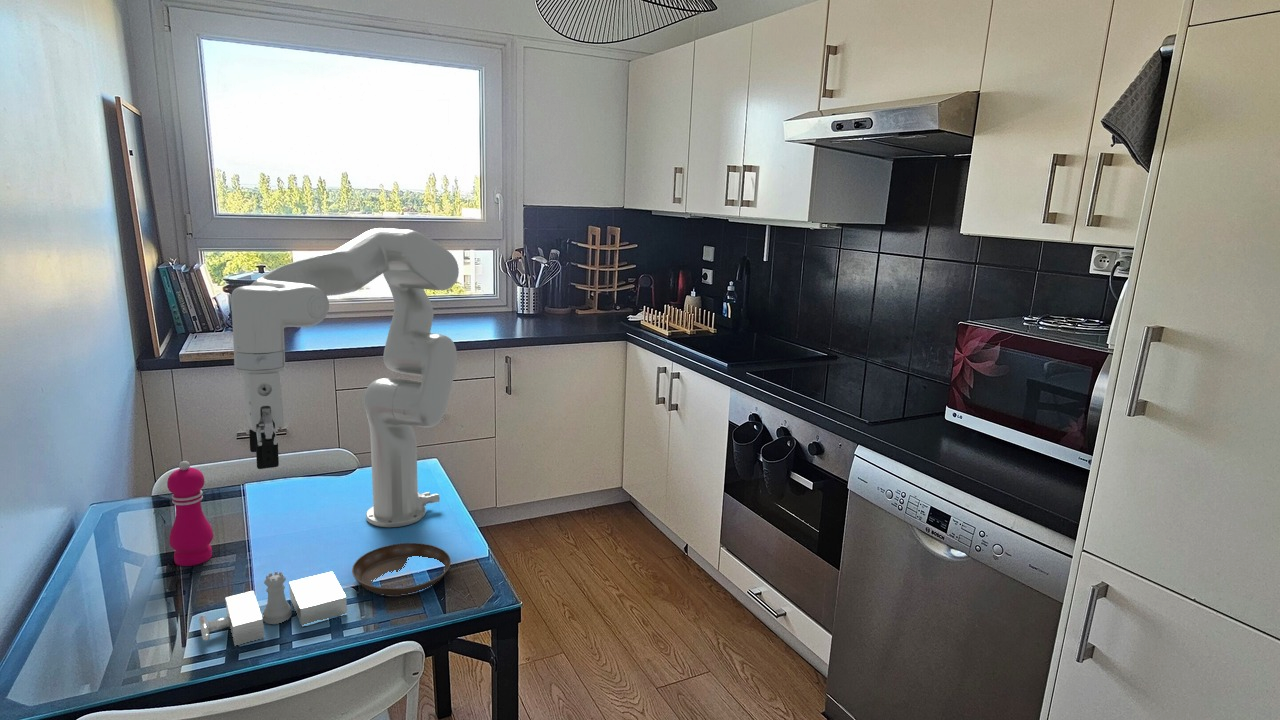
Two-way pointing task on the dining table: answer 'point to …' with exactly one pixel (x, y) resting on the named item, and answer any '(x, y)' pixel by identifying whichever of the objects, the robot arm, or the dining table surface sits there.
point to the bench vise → (307, 596)
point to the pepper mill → (189, 517)
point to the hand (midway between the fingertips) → (264, 458)
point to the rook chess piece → (276, 600)
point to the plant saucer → (395, 565)
